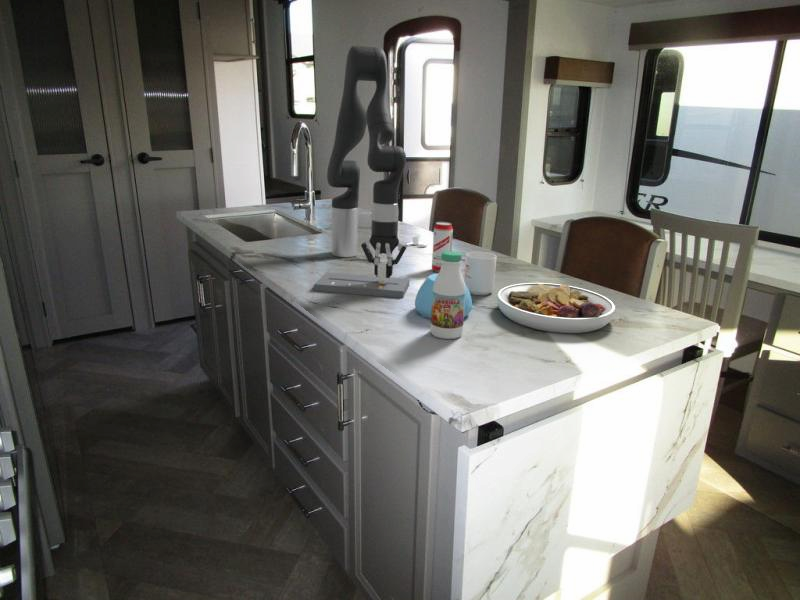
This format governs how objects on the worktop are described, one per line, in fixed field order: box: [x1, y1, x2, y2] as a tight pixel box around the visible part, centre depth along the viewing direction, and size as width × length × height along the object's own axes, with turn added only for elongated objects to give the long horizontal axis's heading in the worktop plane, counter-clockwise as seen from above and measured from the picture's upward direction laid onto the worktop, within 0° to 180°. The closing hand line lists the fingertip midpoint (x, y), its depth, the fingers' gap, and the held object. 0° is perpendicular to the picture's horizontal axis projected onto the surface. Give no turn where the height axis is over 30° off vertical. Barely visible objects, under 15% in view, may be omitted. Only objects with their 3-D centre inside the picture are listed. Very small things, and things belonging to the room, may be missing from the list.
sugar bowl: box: [414, 273, 473, 320], centre depth 149 cm, size 15×15×12 cm
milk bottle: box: [429, 250, 465, 340], centre depth 134 cm, size 8×8×20 cm
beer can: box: [431, 221, 454, 273], centre depth 189 cm, size 6×6×16 cm
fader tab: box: [377, 258, 388, 284], centre depth 167 cm, size 6×2×6 cm, turn 171°
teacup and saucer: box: [405, 234, 428, 248], centre depth 225 cm, size 9×8×4 cm
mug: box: [463, 251, 498, 296], centre depth 170 cm, size 12×9×11 cm
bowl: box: [497, 282, 616, 334], centre depth 151 cm, size 30×30×8 cm
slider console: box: [313, 271, 411, 299], centre depth 169 cm, size 13×26×2 cm, turn 81°
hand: (383, 276), depth 167 cm, fingers closed on fader tab, 2 cm apart
